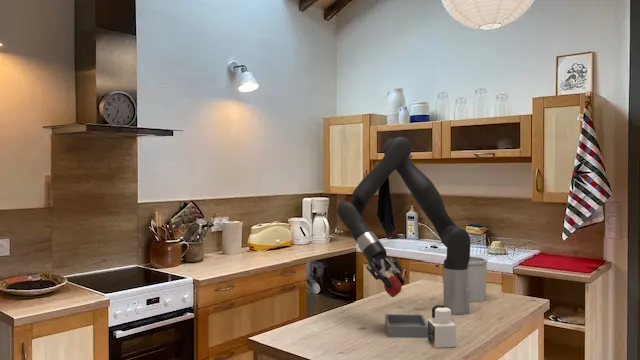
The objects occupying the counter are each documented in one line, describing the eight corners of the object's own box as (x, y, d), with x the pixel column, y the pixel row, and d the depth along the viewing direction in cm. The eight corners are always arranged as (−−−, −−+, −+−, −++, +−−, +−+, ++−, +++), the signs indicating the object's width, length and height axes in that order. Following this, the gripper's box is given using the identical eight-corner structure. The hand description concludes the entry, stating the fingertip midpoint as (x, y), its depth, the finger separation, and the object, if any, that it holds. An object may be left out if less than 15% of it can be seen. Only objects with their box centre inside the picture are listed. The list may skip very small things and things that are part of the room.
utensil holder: (492, 303, 206) (492, 261, 206) (456, 303, 207) (456, 261, 206) (481, 293, 221) (481, 255, 221) (447, 293, 221) (447, 255, 221)
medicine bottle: (427, 340, 162) (427, 304, 162) (448, 339, 163) (448, 303, 163) (434, 348, 155) (434, 310, 155) (456, 347, 156) (456, 309, 156)
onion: (402, 295, 172) (402, 272, 172) (400, 299, 166) (399, 276, 166) (386, 294, 174) (385, 271, 174) (383, 298, 168) (382, 275, 168)
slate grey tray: (422, 324, 178) (422, 314, 178) (428, 337, 165) (428, 326, 165) (385, 324, 179) (385, 314, 179) (387, 336, 166) (387, 326, 165)
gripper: (361, 243, 171) (388, 283, 162) (389, 238, 180) (416, 275, 171) (351, 256, 175) (376, 296, 166) (379, 251, 184) (404, 288, 175)
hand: (396, 285), depth 169 cm, fingers closed on onion, 5 cm apart
